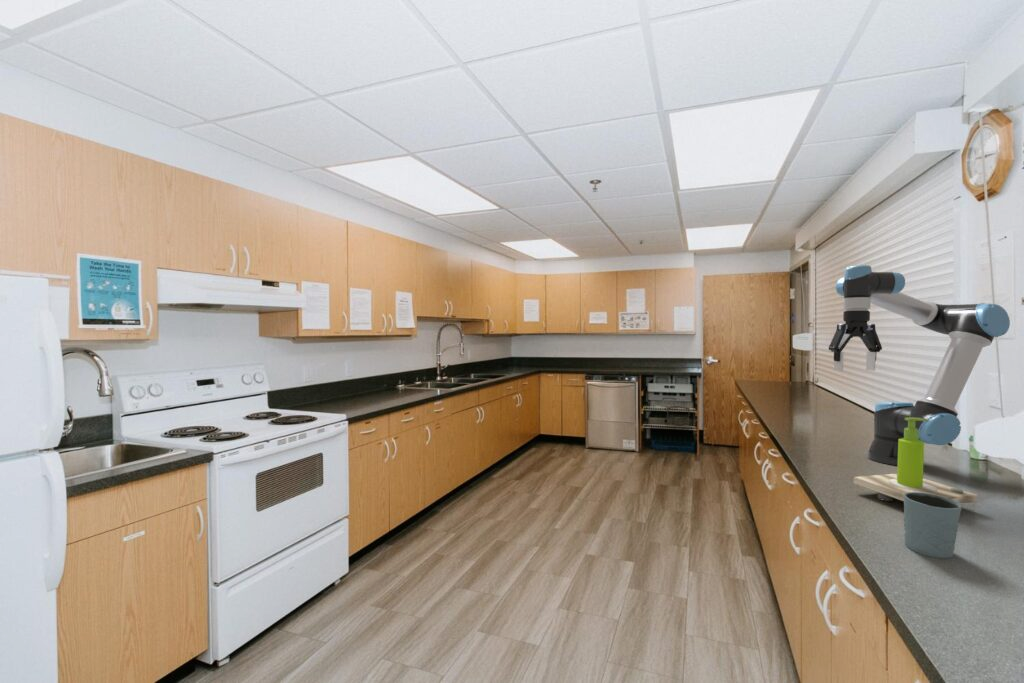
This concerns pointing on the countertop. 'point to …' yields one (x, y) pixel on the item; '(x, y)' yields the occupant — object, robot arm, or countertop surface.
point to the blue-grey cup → (930, 524)
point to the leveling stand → (911, 488)
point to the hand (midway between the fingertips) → (854, 370)
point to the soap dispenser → (910, 456)
